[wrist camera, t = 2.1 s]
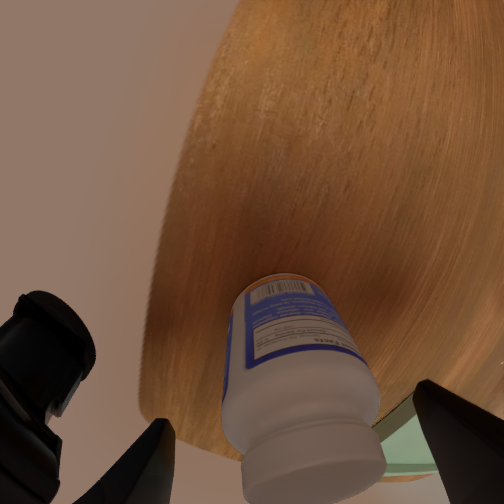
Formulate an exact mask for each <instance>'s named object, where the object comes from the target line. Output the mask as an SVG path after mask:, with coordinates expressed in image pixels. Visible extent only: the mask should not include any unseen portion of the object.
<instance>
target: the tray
mask: <svg viewBox="0 0 504 504" xmlns="http://www.w3.org/2000/svg"><path fill="white" fill-rule="evenodd" d="M413 394H414V392H413V393H412V394H411V395H410V396H409V397H408V398H407V399H406V400H405V401H404V402H403V403H401V404H400V405H399V406H398V407H397V408H396V409H395V410H393V411H392V412H391V413H390V414H389V415H388V416H386V417H385V418H384V419H383V420H381V421H380V422H379V423H378V424H376V425H375V426H374V427H373V428H372V429H373V430H374V431H376V433H377V434H378V436H379V439H380V444H381V446H382V449H383V453H384V456H385V459H386V462H387V470H386V472H385V473H384V475H383V476H406V475H420V474H431V473H439V471H438V469H437V466H436V464H435V461H434V459H433V456H432V454H431V451H430V449H429V447H428V444H427V442H426V440H425V437H424V435H423V432H422V430H421V426H420V423H419V420H418V417H417V414H416V410H415V407H414V404H413V401H412V397H413Z"/></svg>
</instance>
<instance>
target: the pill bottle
mask: <svg viewBox="0 0 504 504" xmlns="http://www.w3.org/2000/svg"><path fill="white" fill-rule="evenodd" d="M379 408H380V392H379V388H378V385H377V383H376V380H375V378H374V376H373V374H372V372H371V370H370V369H369V367H368V365H367V363H366V361H365V359H364V358H363V356H362V354H361V352H360V351H359V349H358V347H357V345H356V343H355V342H354V340H353V338H352V336H351V335H350V333H349V331H348V329H347V328H346V326H345V324H344V322H343V321H342V319H341V317H340V316H339V314H338V312H337V311H336V309H335V307H334V306H333V304H332V302H331V300H330V299H329V297H328V296H327V294H326V293H325V292H324V291H323V289H322V288H321V287H320V286H319V285H318V284H316V283H315V282H314V281H312V280H310V279H308V278H306V277H304V276H301V275H297V274H292V273H279V274H273V275H269V276H266V277H263V278H261V279H259V280H257V281H255V282H254V283H252V284H251V285H249V286H248V287H247V288H246V289H245V290H243V291H242V293H241V294H240V295H239V296H238V297H237V299H236V301H235V302H234V304H233V307H232V309H231V313H230V317H229V323H228V336H227V348H226V361H225V373H224V386H223V398H222V415H221V421H222V428H223V432H224V434H225V436H226V438H227V440H228V441H229V443H230V444H231V445H232V446H233V447H234V448H235V449H236V450H238V451H239V452H240V453H242V454H243V455H244V457H243V460H242V463H241V471H242V485H243V495H244V498H245V500H246V501H247V502H249V503H250V504H333V503H337V502H339V501H342V500H345V499H348V498H350V497H353V496H355V495H357V494H359V493H361V492H363V491H365V490H366V489H368V488H369V487H371V486H372V485H374V484H375V483H376V482H377V481H378V480H379V479H381V477H382V476H383V475H384V473H385V472H386V470H387V462H386V459H385V456H384V453H383V449H382V446H381V444H380V439H379V436H378V434H377V433H376V431H374V430H373V429H372V427H371V426H372V425H373V423H374V421H375V419H376V417H377V414H378V412H379Z"/></svg>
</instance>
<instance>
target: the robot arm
mask: <svg viewBox="0 0 504 504" xmlns="http://www.w3.org/2000/svg"><path fill="white" fill-rule="evenodd" d="M86 348H87V345H86V343H85V341H84V340H83V339H81V338H80V337H79V336H77V335H76V334H74V333H73V332H72V331H70V330H69V329H67V328H66V327H65V326H63V325H62V324H61V323H60V322H58V321H57V320H56V319H54V318H53V317H52V316H51V315H49V314H48V313H47V312H46V311H44V310H43V309H42V308H41V307H39V306H38V305H37V304H36V303H35V302H34V301H32V300H31V299H30V298H29V297H28V296H27V295H25V294H22V295H21V296H20V297H19V298H18V306H17V313H15V314H14V315H13V316H12V317H11V318H10V319H9V320H8V321H6V322H5V323H4V324H3V325H2V326H1V327H0V504H50V503H51V502H52V501H53V499H54V497H55V496H56V494H57V492H58V489H59V487H60V480H59V467H60V466H59V465H60V456H61V448H62V439H61V438H60V437H59V436H58V435H56V434H54V433H53V431H52V430H51V429H50V428H49V427H48V426H47V424H48V422H49V420H50V418H51V417H52V415H54V416H56V417H61V415H62V414H63V412H64V410H65V408H66V407H67V405H68V403H69V401H70V399H71V398H72V396H73V394H74V393H75V391H76V389H77V388H78V386H79V384H80V381H81V378H82V375H83V372H84V369H85V368H84V365H83V364H82V360H83V357H84V354H85V351H86ZM412 401H413V404H414V407H415V410H416V414H417V417H418V420H419V423H420V426H421V430H422V432H423V435H424V437H425V440H426V442H427V444H428V447H429V449H430V451H431V454H432V456H433V459H434V461H435V464H436V466H437V469H438V471H439V474H440V476H441V479H442V482H443V484H444V487H445V490H446V493H447V496H448V498H449V501H450V504H504V420H502V419H500V418H498V417H496V416H494V415H493V414H491V413H489V412H487V411H485V410H483V409H481V408H479V407H478V406H476V405H474V404H472V403H470V402H468V401H467V400H465V399H463V398H461V397H459V396H457V395H456V394H454V393H452V392H450V391H448V390H447V389H445V388H443V387H441V386H439V385H438V384H436V383H434V382H432V381H430V380H428V379H426V380H423V381H420V382H419V383H418V384H417V386H416V388H415V391H414V394H413V397H412ZM174 464H175V431H174V429H173V427H172V425H171V423H170V421H169V420H168V419H167V418H156V419H155V420H154V421H153V422H152V423H151V425H150V426H149V427H148V428H147V429H146V430H145V431H144V432H143V433H142V435H141V436H140V437H139V438H138V439H137V440H136V441H135V442H134V443H133V444H132V445H131V447H130V448H129V449H128V450H127V451H126V452H125V453H124V454H123V455H122V456H121V457H120V459H119V460H118V461H117V462H116V463H115V464H114V465H113V466H112V467H111V468H110V469H109V470H108V471H107V472H106V473H105V474H104V475H103V476H102V477H101V478H100V480H98V481H97V482H96V483H95V485H93V486H92V487H91V488H90V489H89V490H88V491H87V492H86V493H85V494H84V495H83V496H81V497H80V498H79V499H78V500H76V501H75V502H74V503H72V504H169V503H170V495H171V489H172V482H173V476H174Z"/></svg>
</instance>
